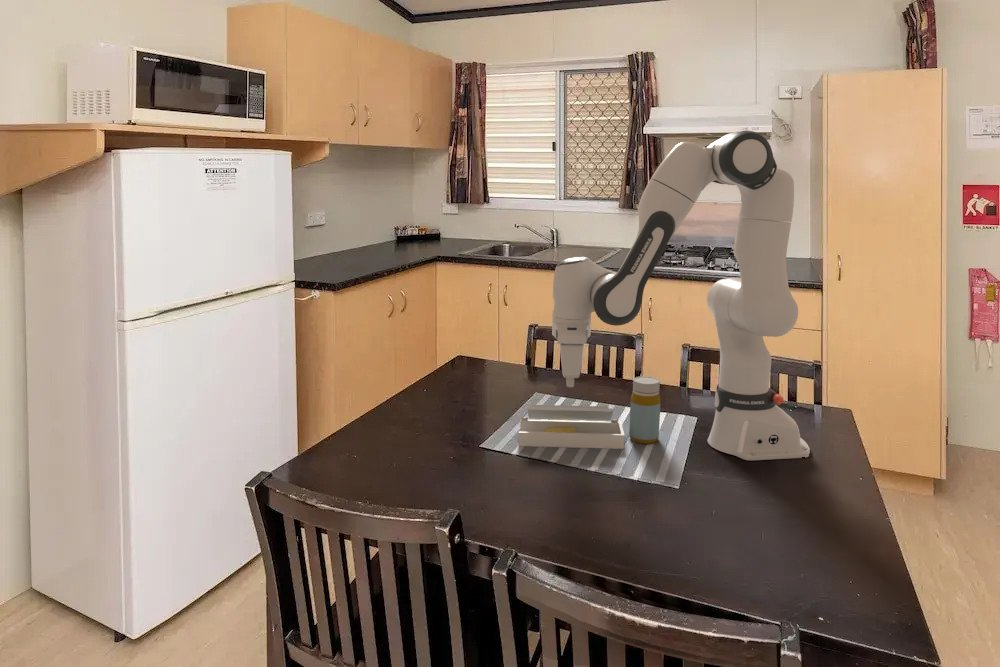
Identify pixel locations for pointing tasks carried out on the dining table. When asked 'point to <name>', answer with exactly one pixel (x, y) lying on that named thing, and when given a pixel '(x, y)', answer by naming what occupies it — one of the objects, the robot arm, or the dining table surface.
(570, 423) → the white long shallow tray
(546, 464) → the dining table surface
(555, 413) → the cover
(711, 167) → the robot arm
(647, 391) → the bottle
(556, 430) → the yellow cylinder
